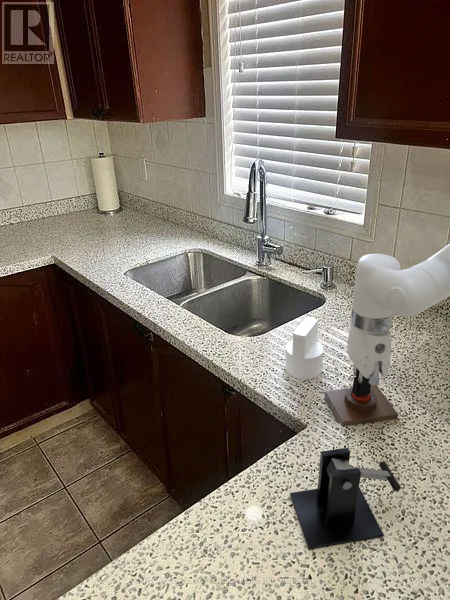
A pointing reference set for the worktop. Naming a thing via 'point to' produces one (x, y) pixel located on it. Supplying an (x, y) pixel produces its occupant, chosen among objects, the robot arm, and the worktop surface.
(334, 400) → the control block
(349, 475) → the black lever stand
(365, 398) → the button
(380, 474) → the lever
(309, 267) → the worktop surface
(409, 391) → the worktop surface
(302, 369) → the base with upright slab
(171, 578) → the worktop surface
